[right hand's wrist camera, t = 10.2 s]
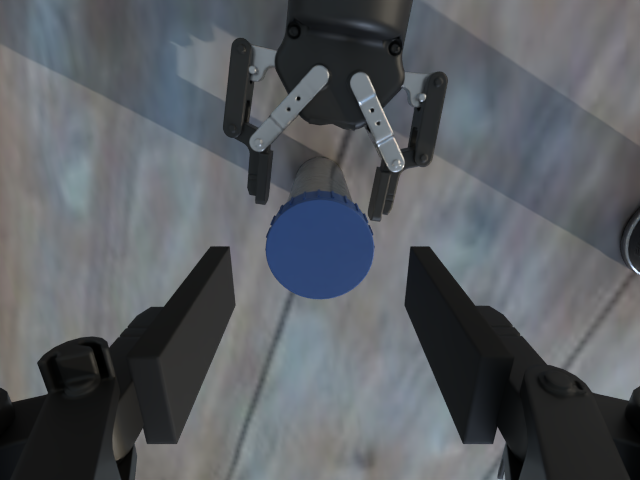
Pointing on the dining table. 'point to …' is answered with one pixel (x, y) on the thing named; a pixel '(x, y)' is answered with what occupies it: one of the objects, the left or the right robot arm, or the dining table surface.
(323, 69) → the left robot arm
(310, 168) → the jar
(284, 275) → the lid
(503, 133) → the dining table surface
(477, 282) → the dining table surface
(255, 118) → the dining table surface
